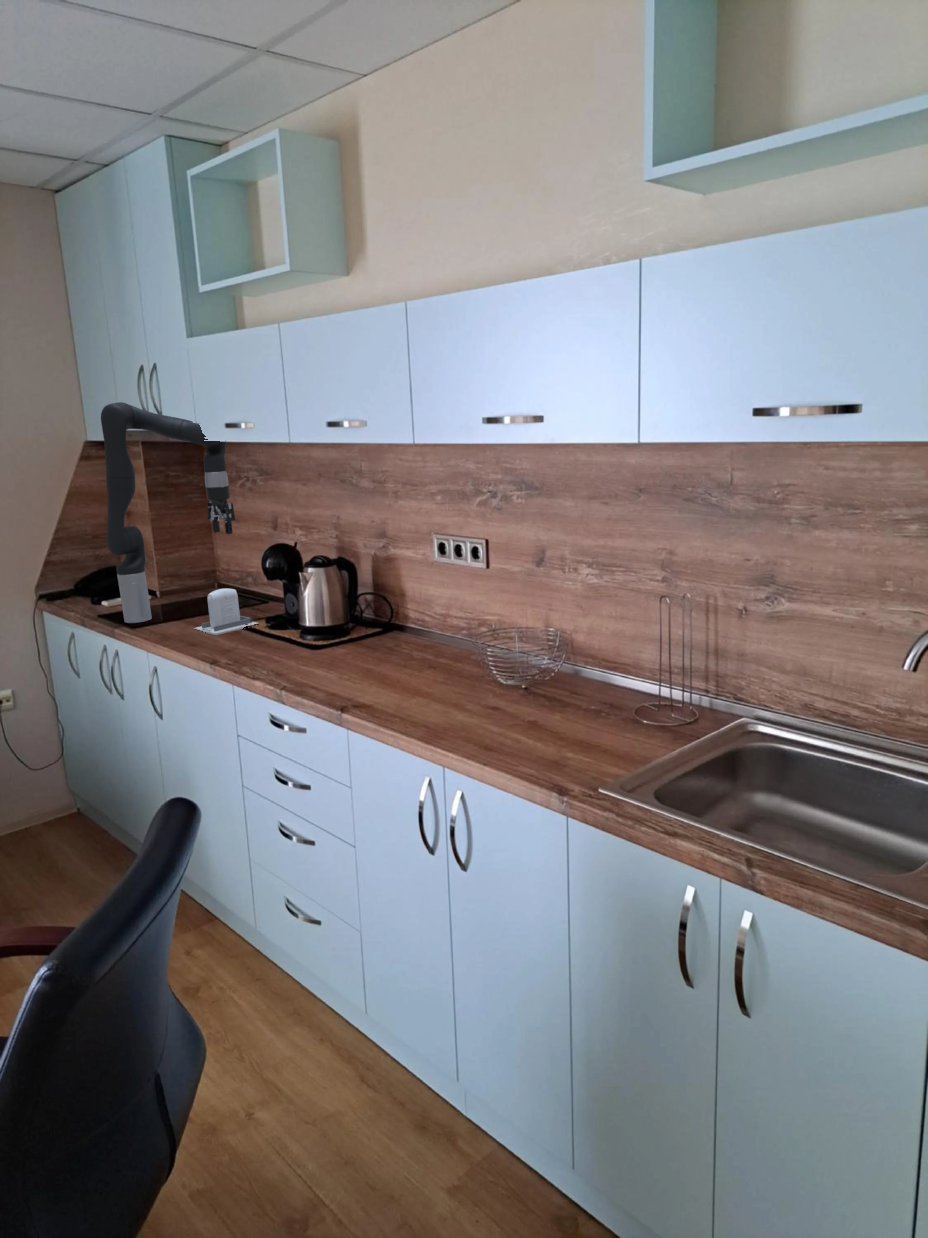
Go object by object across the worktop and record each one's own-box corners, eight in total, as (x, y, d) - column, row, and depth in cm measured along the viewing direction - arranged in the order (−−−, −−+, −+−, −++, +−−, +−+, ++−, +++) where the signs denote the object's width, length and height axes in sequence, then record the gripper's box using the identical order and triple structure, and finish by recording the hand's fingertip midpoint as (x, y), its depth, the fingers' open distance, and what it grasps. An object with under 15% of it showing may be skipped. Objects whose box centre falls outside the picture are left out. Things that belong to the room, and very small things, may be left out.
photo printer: (236, 621, 303) (231, 585, 300) (243, 623, 300) (238, 586, 297) (208, 628, 296) (203, 591, 293) (215, 629, 293) (210, 592, 290)
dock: (194, 629, 298) (193, 623, 297) (236, 619, 309) (235, 613, 308) (215, 635, 288) (214, 628, 288) (258, 624, 299) (257, 618, 298)
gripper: (196, 485, 305) (202, 533, 309) (217, 486, 295) (223, 535, 298) (216, 483, 310) (222, 530, 314) (237, 484, 300) (243, 532, 303)
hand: (222, 533), depth 306 cm, fingers open, 8 cm apart
